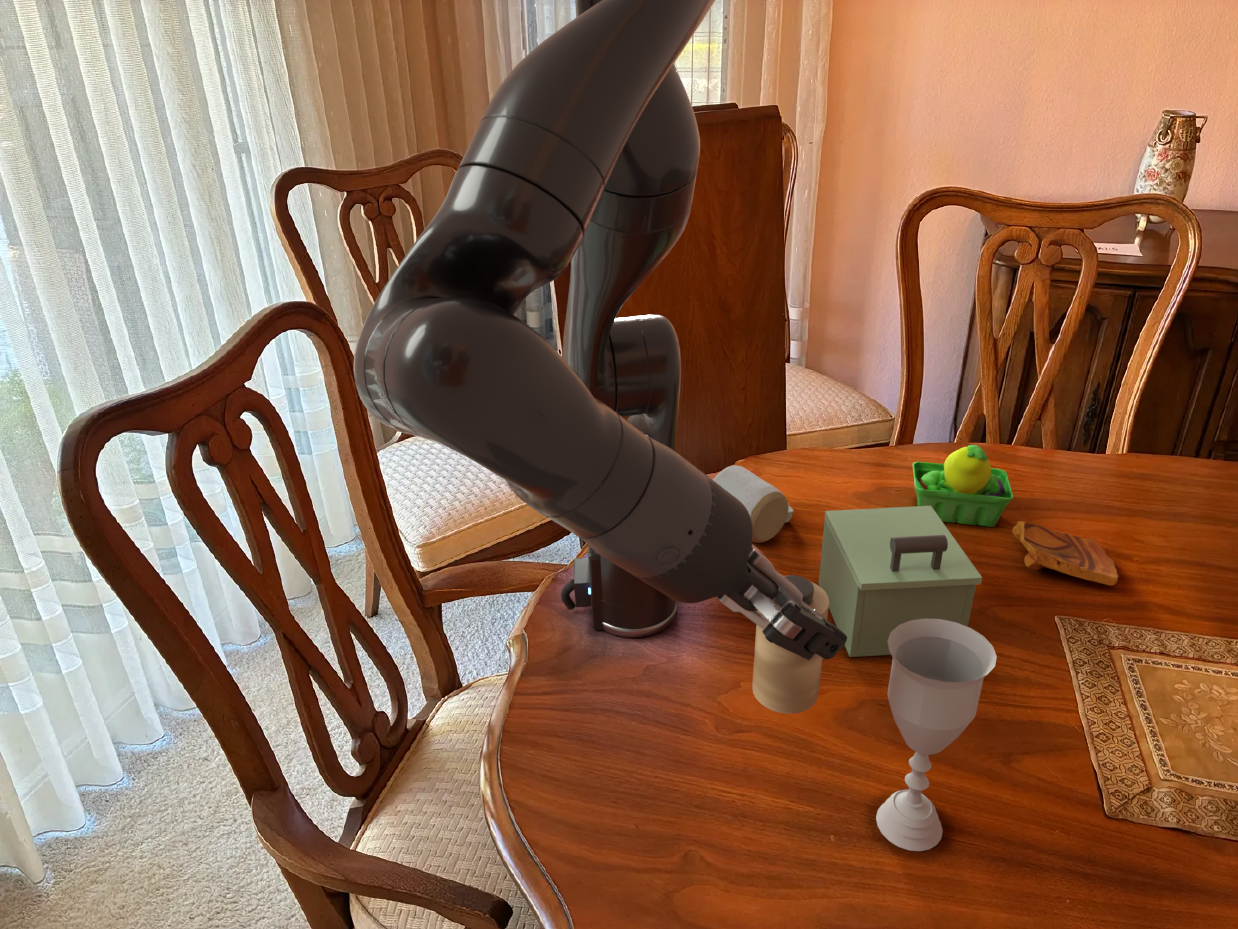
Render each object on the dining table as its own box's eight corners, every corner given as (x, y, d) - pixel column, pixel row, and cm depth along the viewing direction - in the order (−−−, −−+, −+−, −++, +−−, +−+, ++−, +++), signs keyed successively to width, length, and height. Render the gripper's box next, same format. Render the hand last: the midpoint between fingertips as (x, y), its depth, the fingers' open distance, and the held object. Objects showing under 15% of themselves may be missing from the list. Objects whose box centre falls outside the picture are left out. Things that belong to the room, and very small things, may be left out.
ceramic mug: (749, 555, 103) (753, 500, 99) (702, 527, 108) (704, 474, 105) (808, 525, 108) (813, 472, 105) (760, 500, 114) (764, 449, 111)
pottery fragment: (1011, 517, 103) (1104, 512, 100) (1011, 549, 105) (1102, 544, 102) (1029, 567, 94) (1131, 562, 91) (1028, 600, 96) (1128, 597, 93)
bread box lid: (981, 584, 82) (989, 545, 80) (860, 590, 81) (865, 552, 79) (930, 511, 94) (935, 476, 91) (824, 517, 93) (827, 481, 91)
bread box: (963, 651, 87) (977, 580, 82) (849, 657, 86) (858, 586, 82) (919, 578, 98) (929, 512, 94) (818, 583, 97) (824, 517, 93)
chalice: (939, 787, 72) (973, 616, 63) (971, 858, 66) (1014, 679, 57) (852, 792, 72) (875, 620, 63) (876, 863, 66) (905, 685, 57)
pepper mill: (758, 715, 61) (766, 609, 56) (747, 669, 65) (753, 567, 61) (825, 712, 61) (838, 606, 57) (809, 666, 65) (820, 564, 61)
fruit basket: (998, 502, 112) (1015, 424, 106) (1008, 539, 104) (1026, 457, 99) (907, 494, 114) (918, 417, 109) (910, 529, 107) (922, 448, 101)
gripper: (761, 529, 45) (915, 645, 55) (650, 422, 57) (793, 533, 67) (670, 635, 46) (837, 731, 56) (579, 508, 58) (730, 605, 67)
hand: (812, 623), depth 61 cm, fingers closed on pepper mill, 5 cm apart
